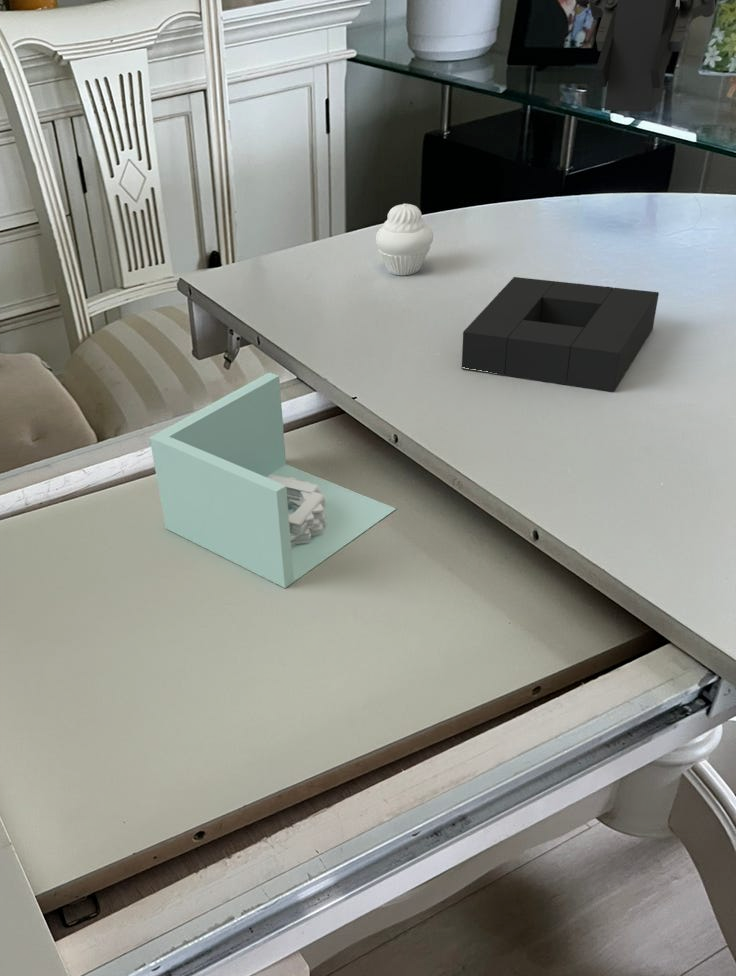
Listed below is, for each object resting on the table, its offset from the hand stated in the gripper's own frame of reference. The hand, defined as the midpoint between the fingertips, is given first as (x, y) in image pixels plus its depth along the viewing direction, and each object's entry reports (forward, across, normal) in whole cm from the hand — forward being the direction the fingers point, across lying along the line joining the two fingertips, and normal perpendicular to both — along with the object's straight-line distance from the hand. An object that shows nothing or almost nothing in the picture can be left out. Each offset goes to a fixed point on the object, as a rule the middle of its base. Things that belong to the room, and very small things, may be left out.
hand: (627, 78), depth 99 cm
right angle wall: (+55, -7, -32) cm, 64 cm away
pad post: (0, 0, +5) cm, 5 cm away
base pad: (+31, +3, -8) cm, 32 cm away
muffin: (+21, -18, +2) cm, 28 cm away
